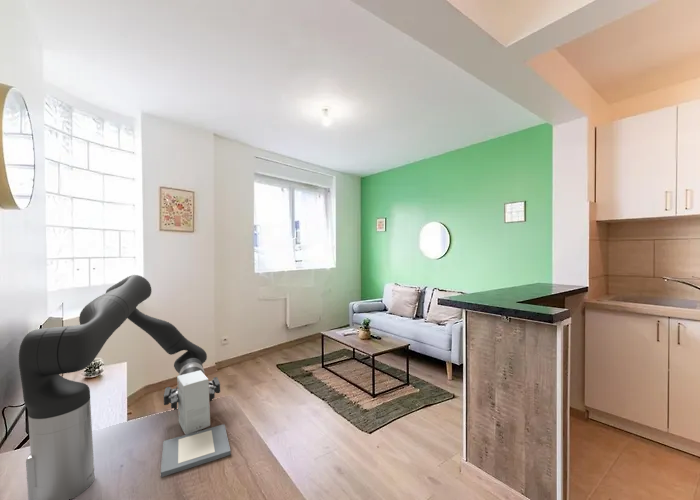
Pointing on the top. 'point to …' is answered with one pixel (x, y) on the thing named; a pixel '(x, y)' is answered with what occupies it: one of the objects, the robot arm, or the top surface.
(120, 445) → the top surface
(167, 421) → the top surface
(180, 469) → the base board
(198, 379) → the small box
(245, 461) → the top surface
